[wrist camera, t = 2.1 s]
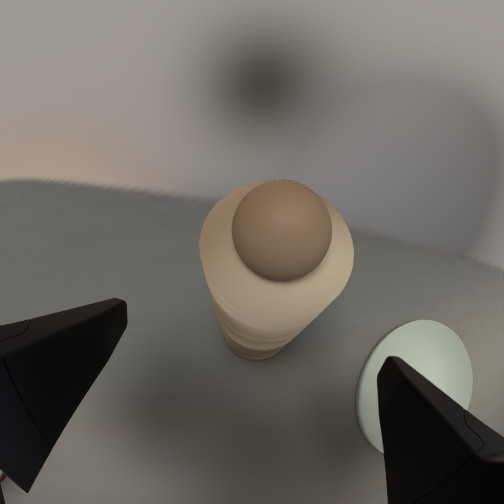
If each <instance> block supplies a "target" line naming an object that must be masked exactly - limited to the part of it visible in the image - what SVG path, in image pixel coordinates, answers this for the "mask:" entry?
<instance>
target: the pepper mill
mask: <svg viewBox="0 0 504 504" xmlns="http://www.w3.org/2000/svg"><path fill="white" fill-rule="evenodd" d="M199 249H200V258H201V262H202V265H203V269H204V272H205V276H206V279H207V283H208V286H209V290H210V293H211V297H212V300H213V303H214V307H215V310H216V313H217V317H218V320H219V323H220V326H221V329H222V333H223V336H224V339H225V341H226V344H227V345H228V347H229V348H230V349H231V351H232V352H234V353H235V354H236V355H238V356H239V357H241V358H243V359H246V360H251V361H261V360H265V359H268V358H270V357H272V356H274V355H275V354H277V353H278V352H279V351H280V350H281V349H282V348H283V347H285V346H286V345H287V344H288V343H289V342H290V341H291V340H292V339H293V338H295V337H296V336H297V335H298V334H299V333H300V332H301V331H302V330H303V329H304V328H305V327H306V326H307V325H309V324H310V323H311V322H312V321H313V320H314V319H315V318H316V317H317V316H318V315H319V314H320V313H321V312H322V311H323V310H324V309H325V308H326V307H327V306H328V305H329V304H330V303H331V302H332V301H333V300H334V299H335V298H336V297H337V296H338V295H339V294H340V293H341V291H342V290H343V289H344V287H345V285H346V283H347V282H348V280H349V277H350V274H351V271H352V267H353V260H354V250H353V242H352V238H351V235H350V232H349V229H348V227H347V225H346V223H345V222H344V220H343V218H342V217H341V215H340V214H339V213H338V212H337V210H336V209H335V208H334V207H333V206H332V205H331V204H330V203H329V202H328V201H326V200H325V199H324V198H322V197H321V196H319V195H318V194H316V193H315V192H314V191H313V190H312V189H310V188H309V187H307V186H305V185H303V184H301V183H298V182H295V181H291V180H273V181H268V182H258V183H253V184H250V185H246V186H243V187H241V188H238V189H236V190H234V191H233V192H231V193H229V194H228V195H226V196H225V197H224V198H222V199H221V200H220V201H219V202H218V203H217V204H216V205H215V206H214V207H213V208H212V210H211V211H210V213H209V214H208V216H207V218H206V220H205V222H204V224H203V227H202V230H201V235H200V245H199Z"/></svg>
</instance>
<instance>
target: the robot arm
mask: <svg viewBox="0 0 504 504" xmlns="http://www.w3.org/2000/svg"><path fill="white" fill-rule="evenodd" d="M127 322H128V320H127V304H126V302H125V301H124V300H121V299H118V298H112V299H108V300H104V301H101V302H97V303H93V304H89V305H85V306H81V307H77V308H73V309H69V310H65V311H61V312H57V313H53V314H49V315H45V316H41V317H37V318H33V319H32V320H31V319H28V320H24V321H20V322H16V323H11V324H6V325H0V478H1V477H2V475H3V474H5V475H6V476H7V477H8V478H9V479H11V480H12V481H13V482H14V483H15V484H16V485H18V486H19V487H20V488H21V489H22V490H24V491H25V492H26V493H28V492H29V490H30V489H31V487H32V485H33V483H34V481H35V479H36V477H37V475H38V474H39V472H40V470H41V468H42V466H43V465H44V463H45V461H46V459H47V457H48V456H49V454H50V452H51V450H52V448H53V447H54V445H55V443H56V442H57V440H58V438H59V437H60V435H61V433H62V432H63V430H64V428H65V427H66V425H67V423H68V422H69V420H70V419H71V417H72V415H73V414H74V412H75V411H76V409H77V407H78V406H79V404H80V403H81V401H82V400H83V398H84V396H85V395H86V393H87V392H88V390H89V389H90V387H91V386H92V384H93V383H94V381H95V380H96V378H97V377H98V375H99V374H100V372H101V371H102V369H103V368H104V366H105V365H106V363H107V362H108V360H109V358H110V357H111V355H112V353H113V351H114V349H115V347H116V345H117V344H118V342H119V340H120V338H121V336H122V334H123V332H124V331H125V329H126V326H127ZM377 393H378V412H379V422H380V428H381V436H382V443H383V451H384V460H385V470H386V482H387V497H388V504H504V437H503V436H501V435H500V434H499V433H497V432H496V431H494V430H493V429H491V428H490V427H488V426H487V425H485V424H484V423H483V422H481V421H480V420H479V419H477V418H476V417H475V416H473V415H472V414H471V413H470V412H468V411H467V410H466V409H464V408H463V407H462V406H461V405H459V404H458V403H457V402H456V401H454V400H453V399H452V398H451V397H449V396H448V395H447V394H446V393H444V392H443V391H442V390H441V389H439V388H438V387H437V386H436V385H434V384H433V383H432V382H430V381H429V380H428V379H427V378H425V377H424V376H423V375H422V374H420V373H419V372H418V371H417V370H415V369H414V368H413V367H411V366H410V365H409V364H408V363H406V362H405V361H404V360H403V359H401V358H400V357H398V356H388V357H387V358H386V359H385V361H384V363H383V365H382V367H381V369H380V371H379V372H378V375H377ZM0 504H5V501H4V497H3V493H2V488H1V484H0Z"/></svg>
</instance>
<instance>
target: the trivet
mask: <svg viewBox="0 0 504 504" xmlns="http://www.w3.org/2000/svg"><path fill="white" fill-rule="evenodd" d="M388 356H398V357H400V358H401V359H403V360H404V361H405V362H406V363H408V364H409V365H410V366H411V367H413V368H414V369H415V370H417V371H418V372H419V373H420V374H422V375H423V376H424V377H425V378H427V379H428V380H429V381H430V382H432V383H433V384H434V385H436V386H437V387H438V388H439V389H441V390H442V391H443V392H444V393H446V394H447V395H448V396H449V397H451V398H452V399H453V400H454V401H456V402H457V403H458V404H459V405H461V406H462V407H463V408H464V409H466V410H468V406H469V403H470V399H471V394H472V367H471V363H470V359H469V356H468V353H467V351H466V348H465V346H464V345H463V343H462V341H461V340H460V338H459V337H458V336H457V335H456V334H455V333H454V332H453V331H452V330H451V329H450V328H448V327H447V326H445V325H443V324H441V323H439V322H436V321H431V320H417V321H412V322H410V323H407V324H405V325H402V326H400V327H398V328H396V329H395V330H393V331H391V332H390V333H388V334H387V335H386V336H385V337H384V338H382V339H381V340H380V341H379V342H378V344H377V345H376V346H375V347H374V348H373V350H372V351H371V353H370V354H369V356H368V358H367V360H366V362H365V364H364V366H363V368H362V371H361V374H360V377H359V381H358V385H357V391H356V413H357V418H358V423H359V426H360V428H361V431H362V433H363V435H364V437H365V438H366V440H367V441H368V442H369V444H370V445H371V446H372V447H373V448H375V449H376V450H377V451H379V452H380V453H382V454H384V451H383V443H382V436H381V428H380V422H379V412H378V393H377V375H378V372H379V371H380V369H381V367H382V365H383V363H384V361H385V359H386V358H387V357H388Z"/></svg>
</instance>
